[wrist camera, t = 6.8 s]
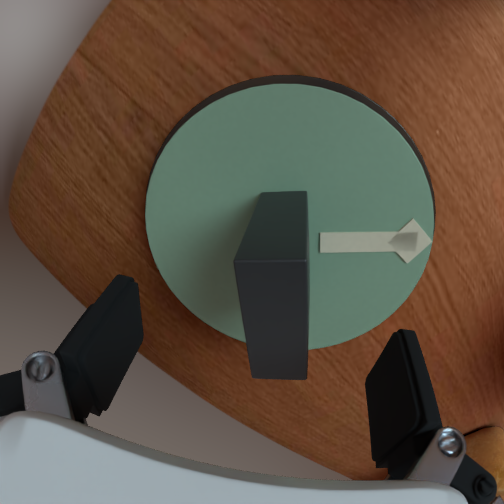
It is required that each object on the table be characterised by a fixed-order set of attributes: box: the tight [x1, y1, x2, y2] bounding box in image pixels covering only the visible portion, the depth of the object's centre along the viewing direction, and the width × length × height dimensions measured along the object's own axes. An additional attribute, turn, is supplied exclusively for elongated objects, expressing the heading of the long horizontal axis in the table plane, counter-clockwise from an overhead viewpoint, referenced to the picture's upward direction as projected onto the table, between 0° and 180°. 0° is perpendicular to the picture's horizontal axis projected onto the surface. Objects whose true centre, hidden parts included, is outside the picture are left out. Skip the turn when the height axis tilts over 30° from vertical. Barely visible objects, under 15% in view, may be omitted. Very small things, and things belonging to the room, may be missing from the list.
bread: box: [465, 426, 504, 501], centre depth 26 cm, size 16×26×17 cm, turn 43°
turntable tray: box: [145, 84, 434, 380], centre depth 15 cm, size 17×17×8 cm
